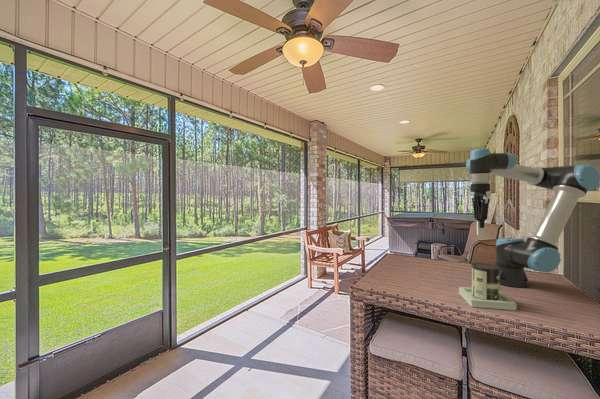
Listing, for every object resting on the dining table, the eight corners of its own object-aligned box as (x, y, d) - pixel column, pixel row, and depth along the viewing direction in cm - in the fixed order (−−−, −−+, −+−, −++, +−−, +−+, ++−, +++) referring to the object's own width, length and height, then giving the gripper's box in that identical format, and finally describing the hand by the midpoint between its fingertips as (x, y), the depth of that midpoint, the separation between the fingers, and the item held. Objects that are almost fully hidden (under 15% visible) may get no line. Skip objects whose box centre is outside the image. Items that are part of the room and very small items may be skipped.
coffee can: (498, 296, 121) (499, 264, 121) (500, 304, 112) (501, 270, 112) (471, 292, 126) (471, 261, 126) (471, 299, 118) (471, 267, 117)
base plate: (497, 295, 125) (497, 289, 125) (516, 310, 110) (516, 303, 109) (458, 292, 129) (458, 286, 129) (471, 306, 113) (471, 300, 113)
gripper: (465, 183, 132) (466, 232, 132) (477, 183, 119) (477, 237, 120) (482, 183, 130) (483, 232, 131) (496, 182, 117) (497, 237, 118)
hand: (480, 234), depth 125 cm, fingers closed
